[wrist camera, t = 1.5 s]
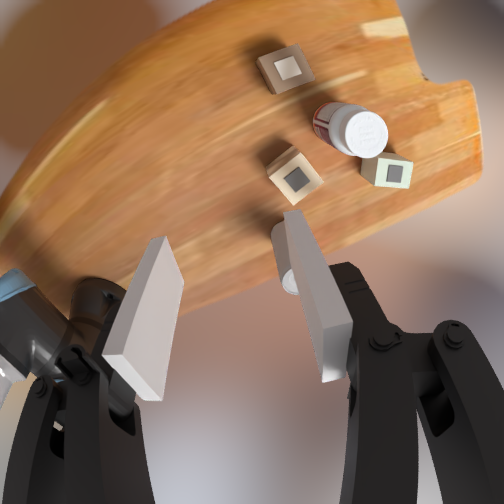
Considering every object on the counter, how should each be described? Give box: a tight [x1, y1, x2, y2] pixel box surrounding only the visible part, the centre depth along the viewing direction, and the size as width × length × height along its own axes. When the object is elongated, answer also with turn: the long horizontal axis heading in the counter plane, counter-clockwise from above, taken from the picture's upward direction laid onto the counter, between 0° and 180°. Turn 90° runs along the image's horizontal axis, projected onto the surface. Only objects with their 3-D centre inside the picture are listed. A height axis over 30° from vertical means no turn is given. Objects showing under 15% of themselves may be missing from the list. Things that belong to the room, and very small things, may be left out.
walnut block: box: [255, 44, 316, 94], centre depth 28 cm, size 5×5×5 cm
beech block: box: [265, 146, 324, 205], centre depth 35 cm, size 5×5×5 cm
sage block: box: [360, 152, 413, 188], centre depth 35 cm, size 6×4×5 cm, turn 91°
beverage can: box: [271, 221, 299, 295], centre depth 38 cm, size 5×5×12 cm
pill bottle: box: [313, 102, 388, 158], centre depth 29 cm, size 6×6×11 cm
